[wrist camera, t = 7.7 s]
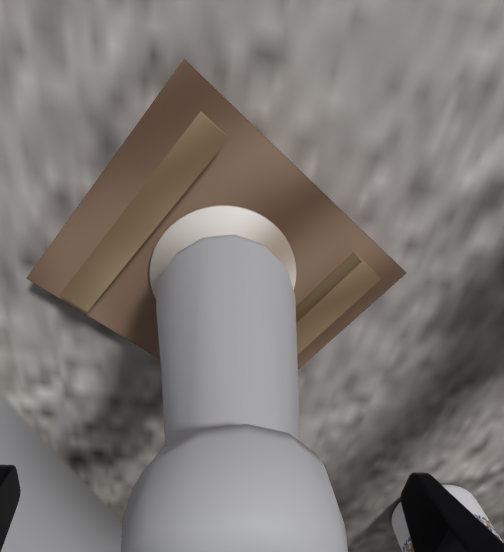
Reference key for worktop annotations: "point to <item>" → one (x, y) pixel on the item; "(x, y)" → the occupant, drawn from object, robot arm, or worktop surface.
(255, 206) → the stand
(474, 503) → the bath foam
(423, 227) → the worktop surface
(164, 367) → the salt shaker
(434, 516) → the robot arm
